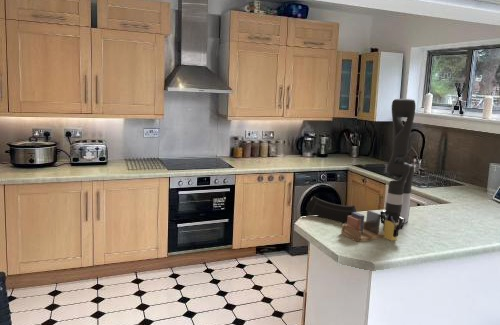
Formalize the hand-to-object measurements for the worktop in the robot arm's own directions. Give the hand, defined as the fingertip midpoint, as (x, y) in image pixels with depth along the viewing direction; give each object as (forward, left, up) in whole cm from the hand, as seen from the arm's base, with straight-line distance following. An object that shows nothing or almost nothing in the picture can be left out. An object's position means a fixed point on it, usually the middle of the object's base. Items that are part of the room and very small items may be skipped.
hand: (390, 234), depth 208 cm
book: (0, 0, -2) cm, 2 cm away
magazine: (+8, -35, -2) cm, 36 cm away
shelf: (+11, -8, -2) cm, 14 cm away
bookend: (+4, -8, 0) cm, 9 cm away
